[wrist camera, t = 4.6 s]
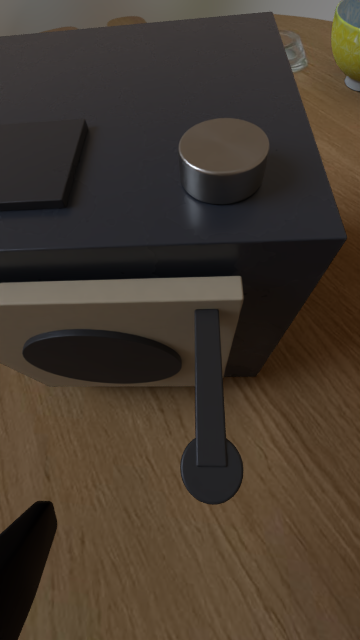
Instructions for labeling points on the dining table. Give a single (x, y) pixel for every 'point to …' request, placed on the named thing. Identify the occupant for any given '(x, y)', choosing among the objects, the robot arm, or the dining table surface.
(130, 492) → the dining table surface
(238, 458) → the washer door
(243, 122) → the washer
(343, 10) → the bowl
